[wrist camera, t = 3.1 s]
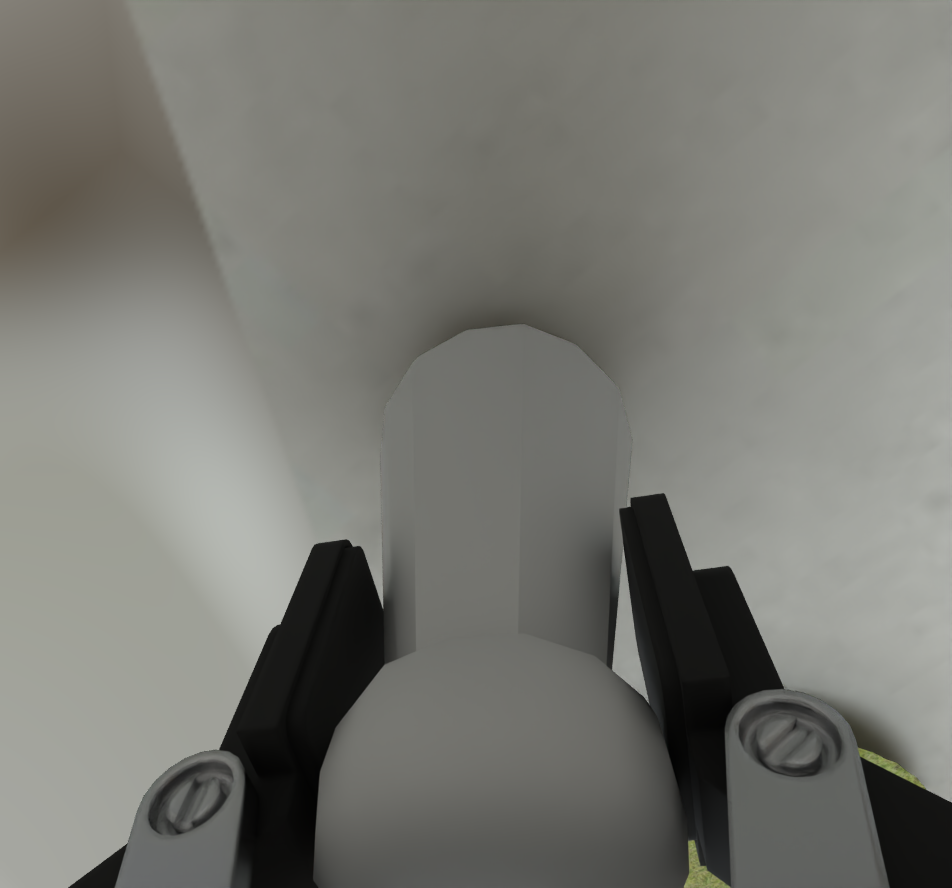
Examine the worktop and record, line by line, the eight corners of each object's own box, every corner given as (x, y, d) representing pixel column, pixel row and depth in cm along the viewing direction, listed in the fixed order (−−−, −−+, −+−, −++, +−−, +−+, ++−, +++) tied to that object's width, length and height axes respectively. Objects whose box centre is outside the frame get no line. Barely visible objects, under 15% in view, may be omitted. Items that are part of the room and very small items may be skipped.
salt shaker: (362, 335, 18) (102, 793, 7) (583, 264, 17) (729, 664, 6) (441, 521, 21) (351, 1091, 9) (638, 470, 20) (820, 1040, 8)
